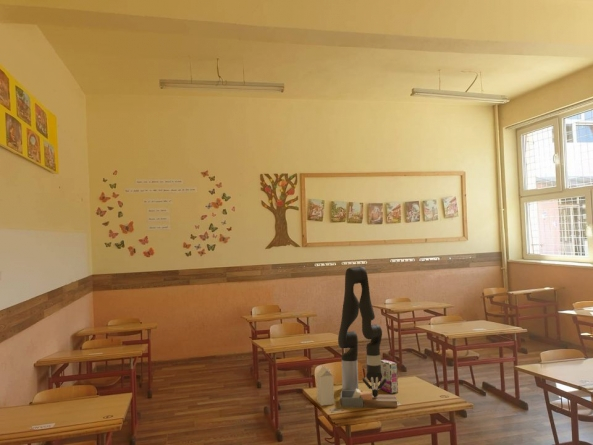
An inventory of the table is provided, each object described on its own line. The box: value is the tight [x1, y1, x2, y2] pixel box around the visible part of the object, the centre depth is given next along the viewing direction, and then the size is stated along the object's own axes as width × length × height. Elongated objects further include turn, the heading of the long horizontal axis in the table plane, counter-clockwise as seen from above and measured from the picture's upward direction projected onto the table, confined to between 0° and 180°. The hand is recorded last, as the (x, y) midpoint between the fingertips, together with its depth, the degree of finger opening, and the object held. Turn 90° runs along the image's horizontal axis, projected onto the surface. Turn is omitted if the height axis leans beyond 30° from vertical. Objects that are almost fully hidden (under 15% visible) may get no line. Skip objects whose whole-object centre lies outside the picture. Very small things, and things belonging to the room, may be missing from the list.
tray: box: [339, 389, 364, 409], centre depth 244 cm, size 13×12×5 cm
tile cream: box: [352, 388, 361, 398], centre depth 243 cm, size 6×6×2 cm
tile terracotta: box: [360, 390, 372, 400], centre depth 242 cm, size 6×6×2 cm
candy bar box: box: [379, 359, 399, 395], centre depth 264 cm, size 11×5×16 cm, turn 25°
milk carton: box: [316, 365, 335, 407], centre depth 245 cm, size 7×7×19 cm
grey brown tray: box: [363, 393, 398, 408], centre depth 242 cm, size 11×17×3 cm, turn 83°
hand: (375, 396), depth 242 cm, fingers closed
